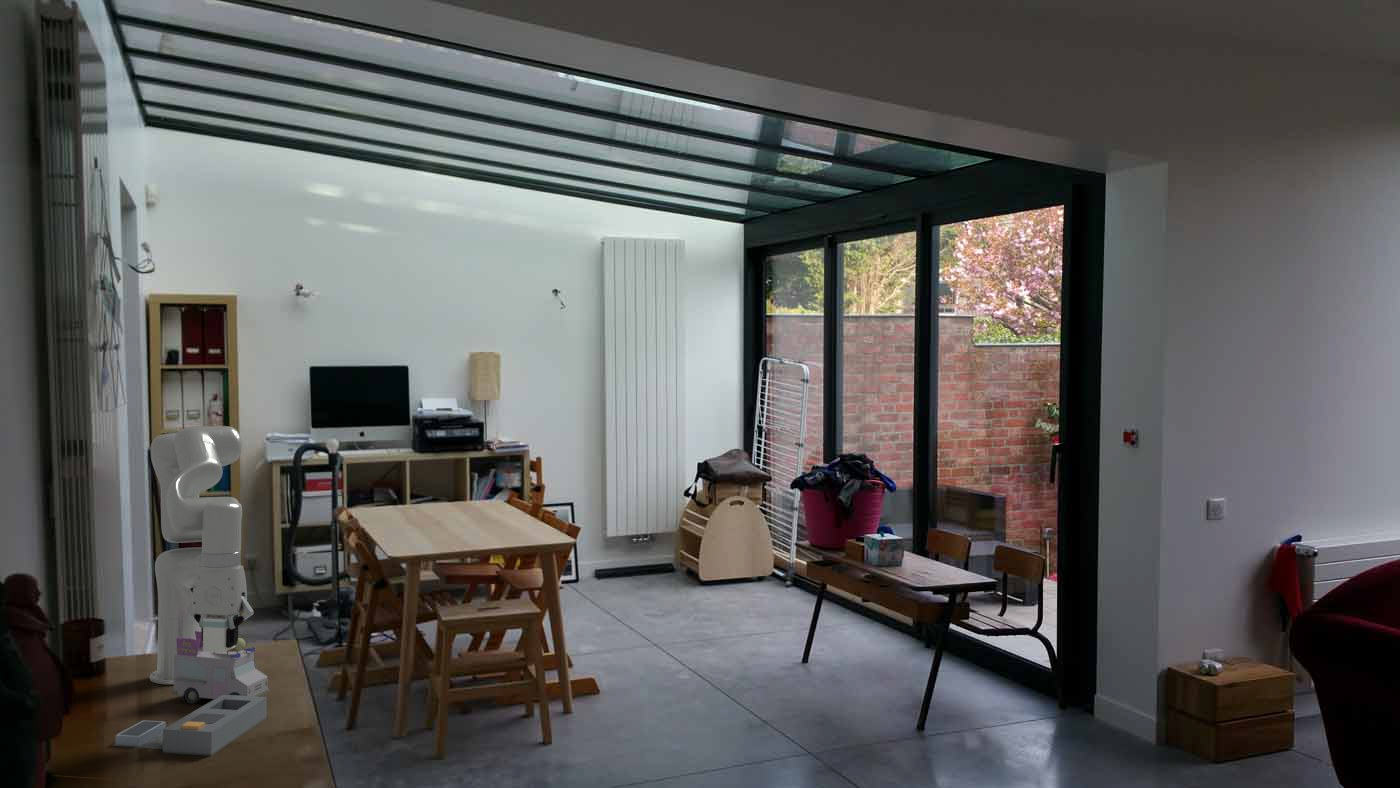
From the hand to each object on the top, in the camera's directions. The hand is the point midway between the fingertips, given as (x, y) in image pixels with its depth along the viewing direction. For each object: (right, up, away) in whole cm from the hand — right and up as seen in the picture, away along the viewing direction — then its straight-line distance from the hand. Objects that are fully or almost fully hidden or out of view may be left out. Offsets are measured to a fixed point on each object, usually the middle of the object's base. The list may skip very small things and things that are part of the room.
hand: (219, 644), depth 219 cm
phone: (-13, -17, -7) cm, 23 cm away
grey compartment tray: (+1, -18, -4) cm, 19 cm away
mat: (-10, -18, -8) cm, 22 cm away
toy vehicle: (-8, -17, +17) cm, 26 cm away
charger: (0, -1, 0) cm, 1 cm away
